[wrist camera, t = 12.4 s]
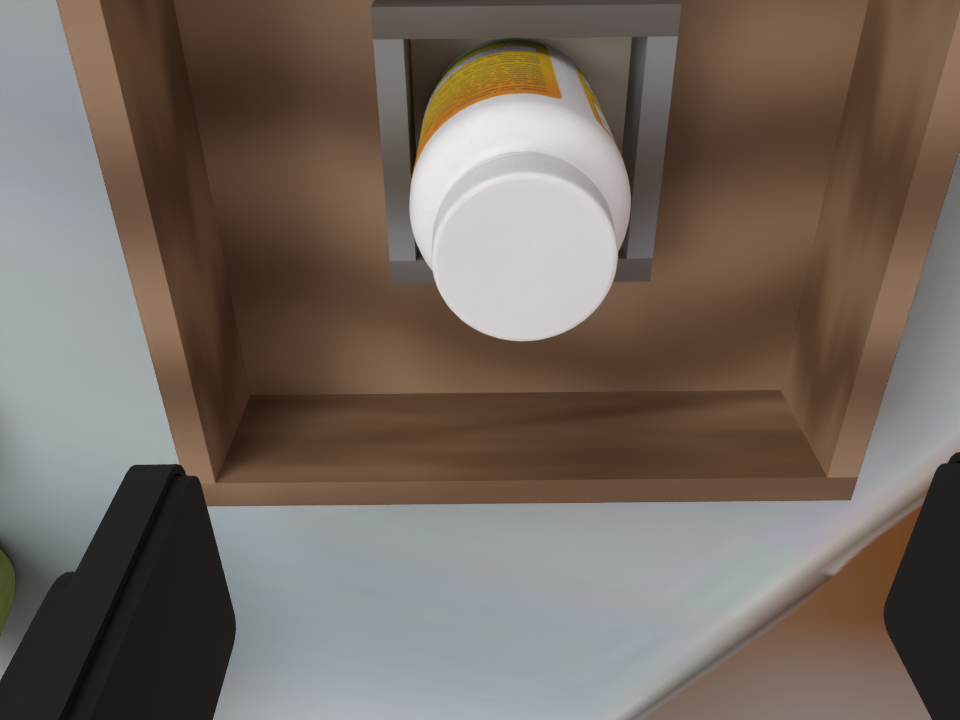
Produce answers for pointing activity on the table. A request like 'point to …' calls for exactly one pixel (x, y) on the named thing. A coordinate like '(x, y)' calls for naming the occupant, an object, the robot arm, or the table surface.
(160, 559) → the robot arm
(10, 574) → the plant pot
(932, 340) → the table surface
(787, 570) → the table surface
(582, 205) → the supplement bottle
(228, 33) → the walled box
